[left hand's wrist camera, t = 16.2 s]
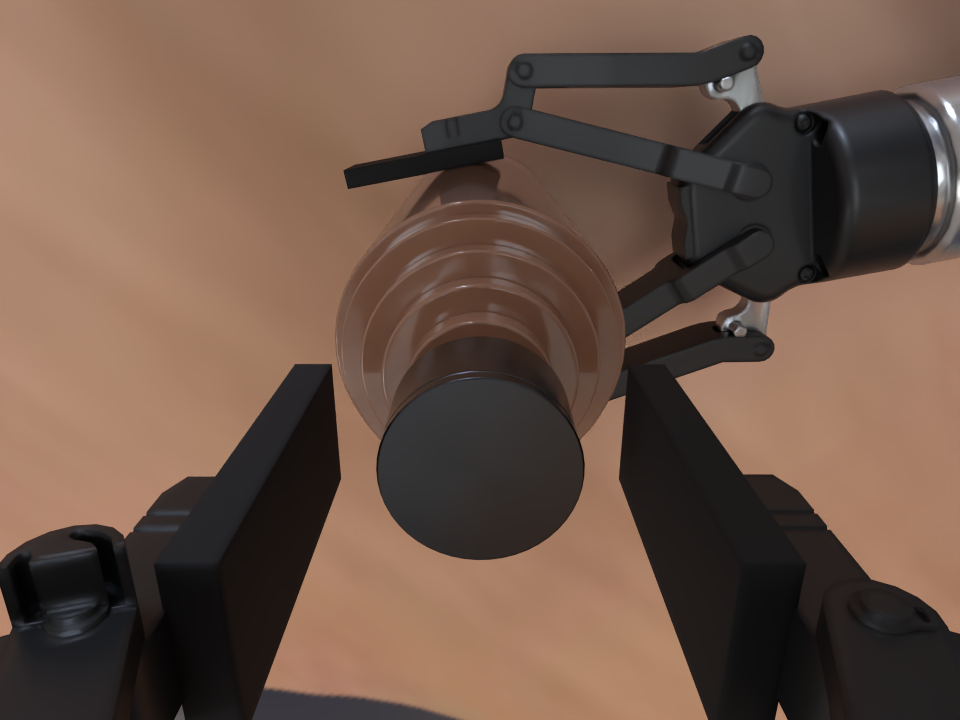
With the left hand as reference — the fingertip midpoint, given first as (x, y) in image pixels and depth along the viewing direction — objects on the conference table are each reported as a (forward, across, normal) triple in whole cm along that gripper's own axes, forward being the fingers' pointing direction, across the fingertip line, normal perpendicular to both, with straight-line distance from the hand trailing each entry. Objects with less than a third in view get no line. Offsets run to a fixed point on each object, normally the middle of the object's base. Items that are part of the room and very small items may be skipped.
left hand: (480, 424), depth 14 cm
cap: (-2, 0, 0) cm, 2 cm away
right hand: (+17, -5, -1) cm, 18 cm away
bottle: (+24, 0, 0) cm, 24 cm away
